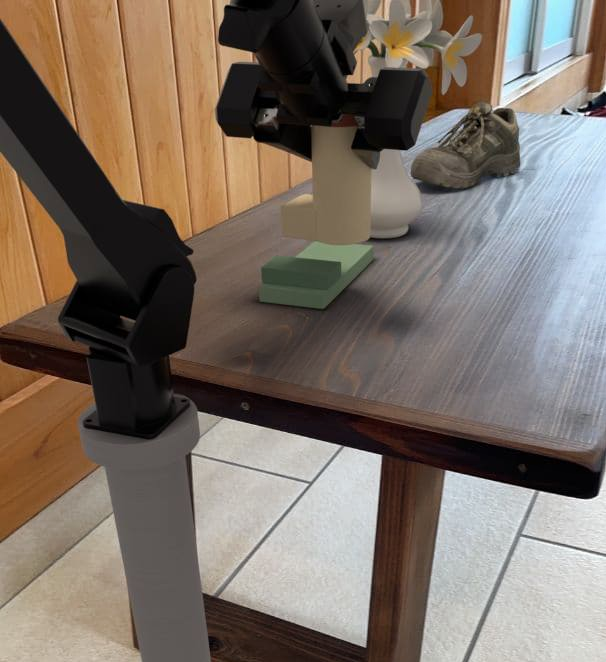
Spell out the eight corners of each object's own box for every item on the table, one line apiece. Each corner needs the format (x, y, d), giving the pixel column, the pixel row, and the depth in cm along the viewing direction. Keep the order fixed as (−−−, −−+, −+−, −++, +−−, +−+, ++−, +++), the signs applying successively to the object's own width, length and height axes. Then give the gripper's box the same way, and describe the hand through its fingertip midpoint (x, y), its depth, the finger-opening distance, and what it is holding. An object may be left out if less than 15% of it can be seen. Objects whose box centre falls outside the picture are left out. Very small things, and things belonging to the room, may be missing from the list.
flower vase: (444, 255, 97) (462, -4, 82) (299, 238, 104) (292, -5, 89) (477, 224, 106) (499, -13, 92) (342, 210, 113) (342, -13, 99)
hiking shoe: (385, 169, 122) (427, 91, 113) (475, 161, 134) (518, 90, 125) (424, 213, 119) (469, 137, 110) (511, 200, 132) (559, 131, 123)
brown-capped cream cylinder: (380, 232, 85) (384, 98, 78) (355, 248, 81) (356, 108, 74) (307, 222, 88) (304, 93, 81) (278, 238, 84) (273, 103, 77)
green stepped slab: (324, 309, 85) (324, 277, 83) (258, 301, 87) (256, 270, 85) (374, 259, 96) (374, 231, 95) (315, 254, 99) (314, 225, 97)
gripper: (432, -52, 64) (466, 90, 78) (220, -48, 71) (287, 82, 85) (388, 82, 63) (431, 201, 77) (178, 72, 70) (253, 183, 84)
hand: (348, 162), depth 81 cm, fingers closed on brown-capped cream cylinder, 5 cm apart
